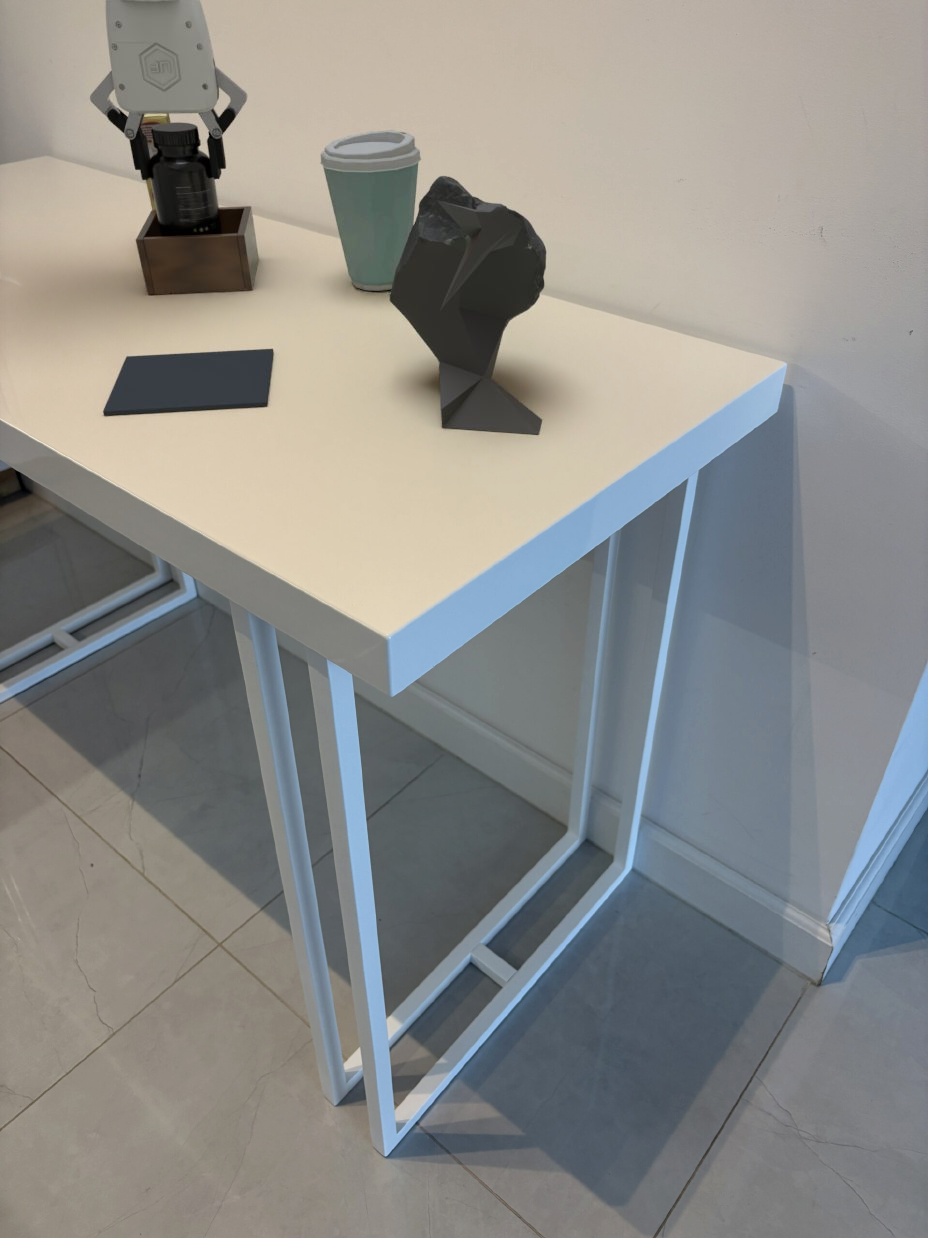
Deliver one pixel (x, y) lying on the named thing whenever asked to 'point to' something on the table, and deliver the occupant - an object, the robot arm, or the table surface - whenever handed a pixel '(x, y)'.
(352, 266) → the disposable coffee cup
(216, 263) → the box
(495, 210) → the dark grey faceted sculpture
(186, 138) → the supplement bottle
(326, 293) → the table surface
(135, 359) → the mat
